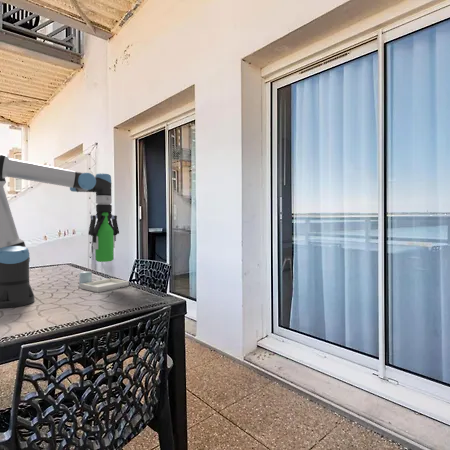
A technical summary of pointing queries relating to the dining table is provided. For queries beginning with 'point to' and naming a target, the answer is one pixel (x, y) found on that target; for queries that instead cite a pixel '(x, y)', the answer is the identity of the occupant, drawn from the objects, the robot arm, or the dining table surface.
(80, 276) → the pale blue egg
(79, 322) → the dining table surface
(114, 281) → the tray
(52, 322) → the dining table surface
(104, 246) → the bottle
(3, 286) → the robot arm
